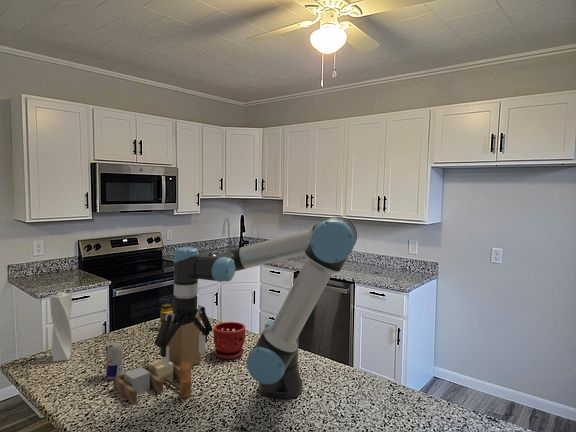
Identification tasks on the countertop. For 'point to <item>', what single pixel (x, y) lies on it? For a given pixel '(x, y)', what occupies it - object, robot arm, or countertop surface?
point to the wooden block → (185, 344)
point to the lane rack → (131, 393)
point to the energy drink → (114, 360)
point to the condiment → (165, 309)
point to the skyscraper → (61, 326)
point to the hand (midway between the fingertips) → (184, 359)
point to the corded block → (167, 375)
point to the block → (138, 379)
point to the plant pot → (229, 339)
